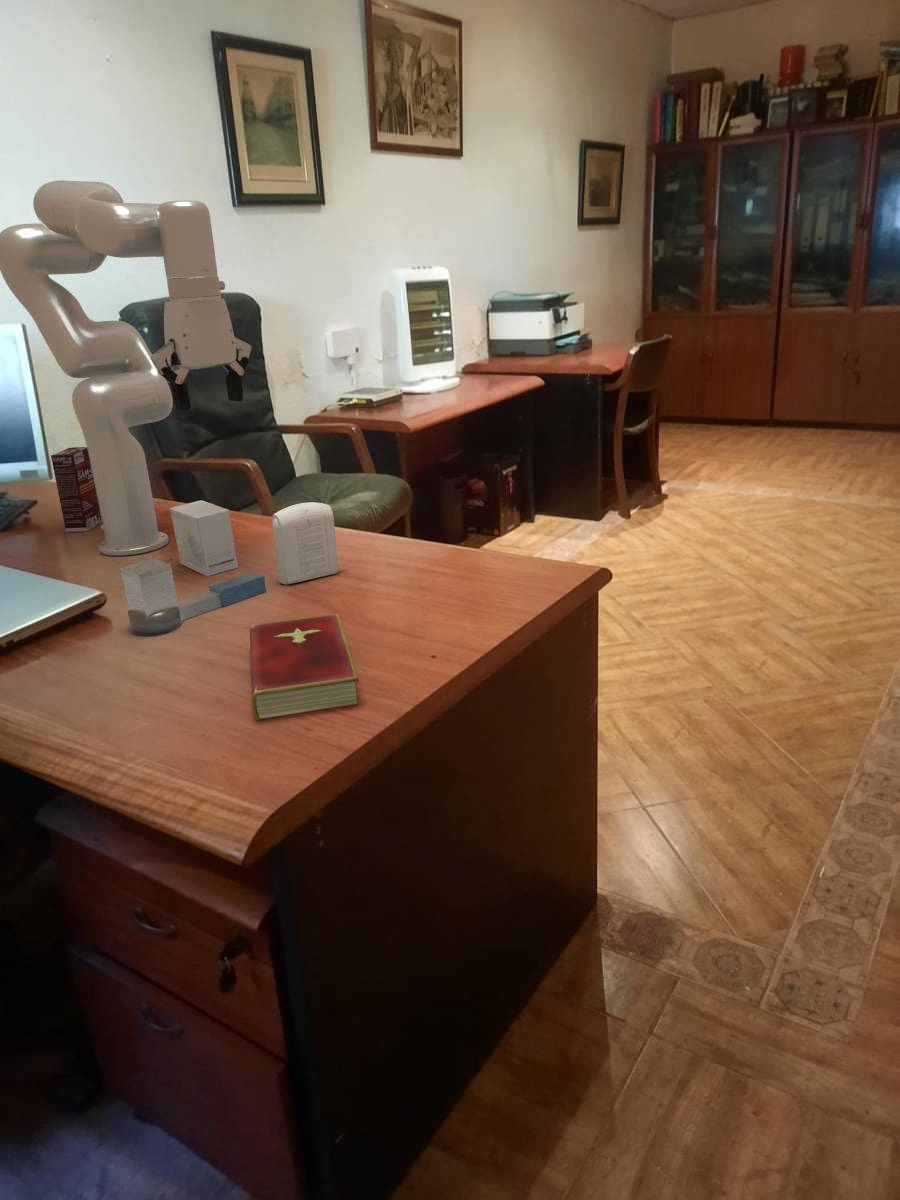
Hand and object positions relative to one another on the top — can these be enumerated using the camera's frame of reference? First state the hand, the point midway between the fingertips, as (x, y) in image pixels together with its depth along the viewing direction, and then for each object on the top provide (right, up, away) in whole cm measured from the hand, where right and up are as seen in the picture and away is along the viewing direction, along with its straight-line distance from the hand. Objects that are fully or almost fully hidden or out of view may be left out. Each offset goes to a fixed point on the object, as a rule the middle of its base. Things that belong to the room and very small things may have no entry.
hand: (210, 405), depth 139 cm
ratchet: (0, -32, -7) cm, 33 cm away
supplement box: (-38, -16, +44) cm, 60 cm away
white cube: (-5, -32, -13) cm, 35 cm away
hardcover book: (+20, -41, -30) cm, 54 cm away
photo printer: (+15, -27, +6) cm, 32 cm away
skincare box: (-4, -25, +14) cm, 29 cm away
